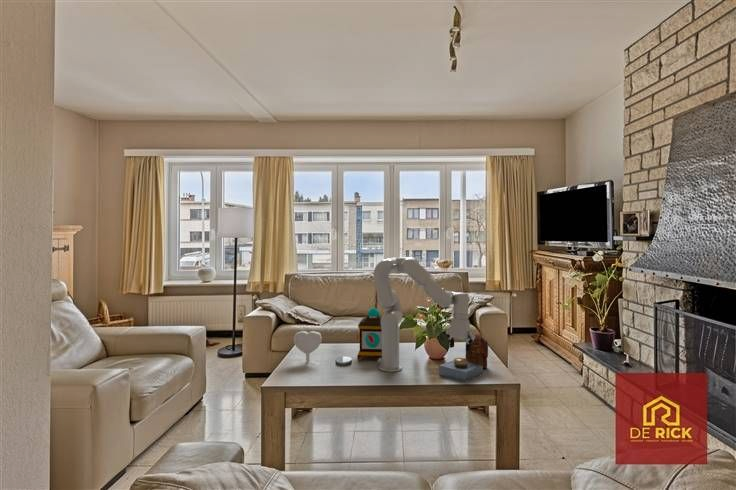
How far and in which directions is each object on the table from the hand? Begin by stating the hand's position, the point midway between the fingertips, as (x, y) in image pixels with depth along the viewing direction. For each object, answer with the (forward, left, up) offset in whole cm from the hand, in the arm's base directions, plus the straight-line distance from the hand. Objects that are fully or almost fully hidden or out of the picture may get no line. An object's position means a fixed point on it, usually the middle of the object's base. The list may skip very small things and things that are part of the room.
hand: (459, 349), depth 219 cm
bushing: (0, 0, -13) cm, 13 cm away
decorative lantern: (-54, -9, -14) cm, 57 cm away
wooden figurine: (0, +17, -14) cm, 22 cm away
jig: (+1, 0, -13) cm, 13 cm away
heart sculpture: (-72, -44, -14) cm, 86 cm away
